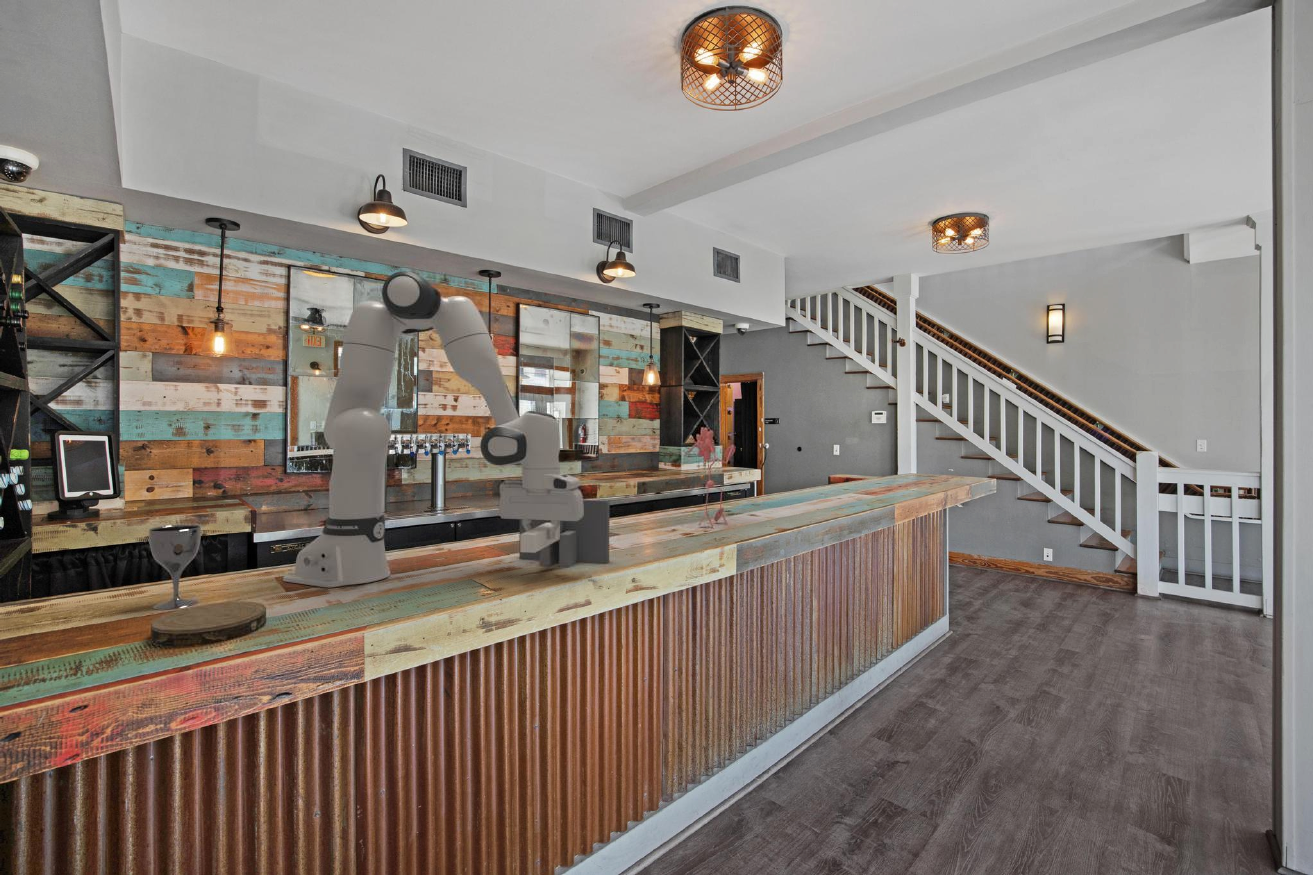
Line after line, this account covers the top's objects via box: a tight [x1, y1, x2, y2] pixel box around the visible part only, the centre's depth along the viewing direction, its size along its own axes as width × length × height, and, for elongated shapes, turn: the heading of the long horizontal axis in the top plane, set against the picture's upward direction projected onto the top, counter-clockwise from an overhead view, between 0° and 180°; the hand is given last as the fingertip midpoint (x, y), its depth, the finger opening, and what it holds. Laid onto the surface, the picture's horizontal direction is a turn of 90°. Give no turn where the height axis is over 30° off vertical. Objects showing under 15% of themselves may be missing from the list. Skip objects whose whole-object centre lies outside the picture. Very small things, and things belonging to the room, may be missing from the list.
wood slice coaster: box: [150, 600, 267, 648], centre depth 105 cm, size 16×16×3 cm
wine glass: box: [148, 524, 202, 611], centre depth 120 cm, size 8×8×15 cm
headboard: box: [518, 498, 610, 568], centre depth 158 cm, size 24×8×16 cm, turn 79°
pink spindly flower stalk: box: [681, 426, 736, 528], centre depth 220 cm, size 15×26×35 cm, turn 142°
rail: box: [520, 521, 563, 553], centre depth 149 cm, size 4×22×6 cm, turn 169°
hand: (541, 538), depth 146 cm, fingers closed on rail, 3 cm apart
